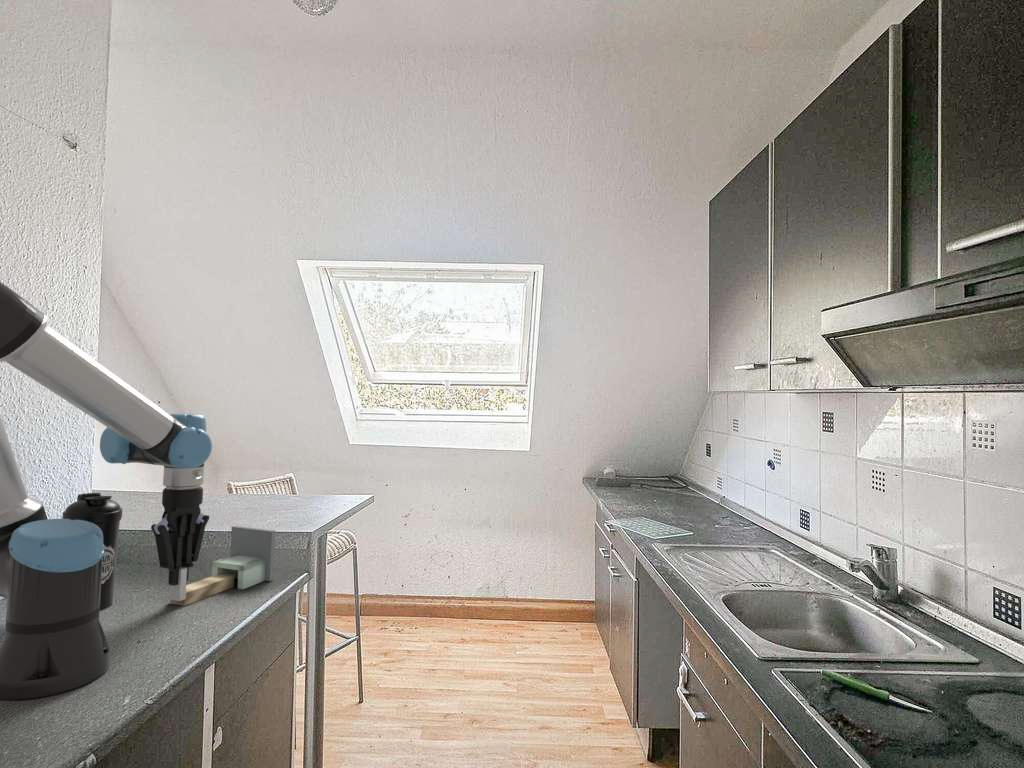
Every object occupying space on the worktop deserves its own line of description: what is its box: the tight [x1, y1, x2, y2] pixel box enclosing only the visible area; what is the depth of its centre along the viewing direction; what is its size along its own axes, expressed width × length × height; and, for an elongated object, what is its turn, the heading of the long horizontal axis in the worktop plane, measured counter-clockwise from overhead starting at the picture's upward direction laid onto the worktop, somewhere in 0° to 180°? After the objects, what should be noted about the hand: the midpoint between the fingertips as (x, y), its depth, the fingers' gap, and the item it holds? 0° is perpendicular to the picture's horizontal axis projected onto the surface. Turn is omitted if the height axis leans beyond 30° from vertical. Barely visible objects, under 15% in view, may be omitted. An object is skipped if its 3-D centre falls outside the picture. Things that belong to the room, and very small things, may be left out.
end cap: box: [211, 525, 276, 590], centre depth 141 cm, size 8×12×12 cm
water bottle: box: [61, 492, 123, 611], centre depth 122 cm, size 10×10×23 cm
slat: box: [169, 573, 235, 606], centre depth 131 cm, size 14×4×3 cm, turn 163°
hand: (177, 599), depth 124 cm, fingers closed
